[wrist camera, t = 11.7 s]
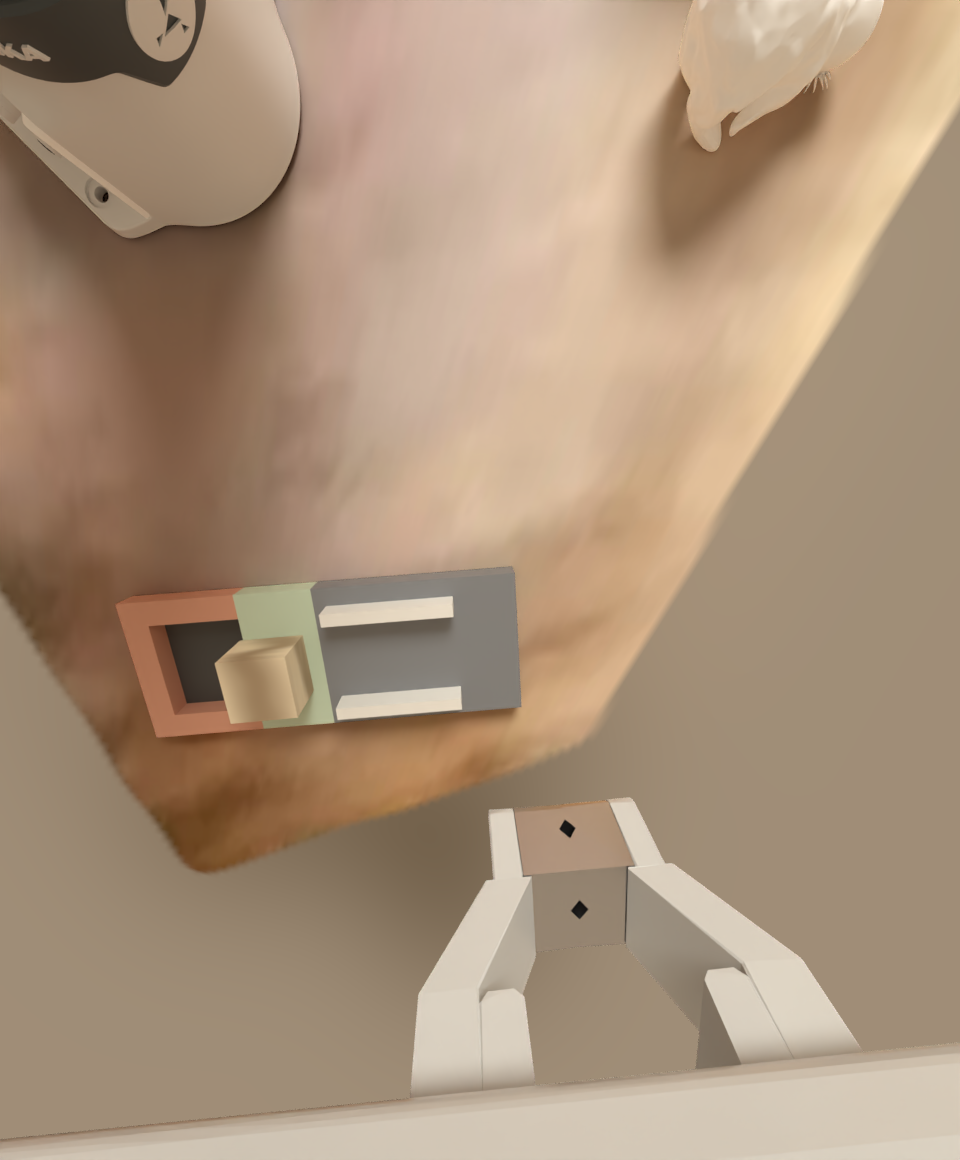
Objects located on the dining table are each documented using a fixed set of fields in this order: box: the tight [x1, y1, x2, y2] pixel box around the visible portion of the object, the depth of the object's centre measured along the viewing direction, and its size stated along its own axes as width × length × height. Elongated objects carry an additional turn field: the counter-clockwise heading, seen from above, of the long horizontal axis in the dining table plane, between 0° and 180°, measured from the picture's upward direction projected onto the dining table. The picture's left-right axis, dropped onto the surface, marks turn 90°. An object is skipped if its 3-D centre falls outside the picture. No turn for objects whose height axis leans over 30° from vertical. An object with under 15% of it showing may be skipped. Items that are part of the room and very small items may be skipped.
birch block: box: [215, 635, 314, 724], centre depth 36 cm, size 5×5×4 cm
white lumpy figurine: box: [678, 0, 884, 152], centre depth 26 cm, size 6×8×12 cm
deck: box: [115, 567, 521, 738], centre depth 39 cm, size 31×12×2 cm, turn 94°
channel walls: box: [319, 596, 462, 720], centre depth 37 cm, size 10×9×2 cm
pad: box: [232, 582, 335, 729], centre depth 39 cm, size 6×12×2 cm, turn 4°
